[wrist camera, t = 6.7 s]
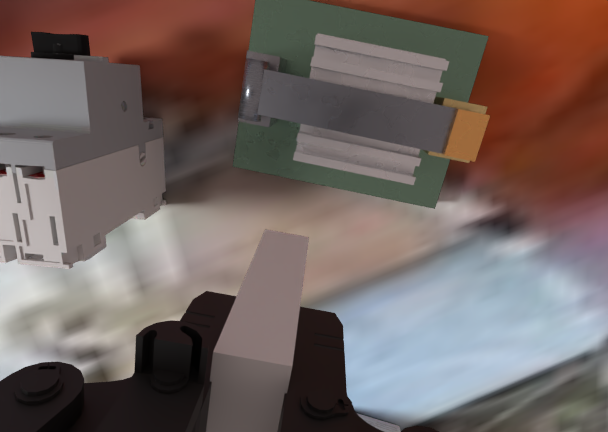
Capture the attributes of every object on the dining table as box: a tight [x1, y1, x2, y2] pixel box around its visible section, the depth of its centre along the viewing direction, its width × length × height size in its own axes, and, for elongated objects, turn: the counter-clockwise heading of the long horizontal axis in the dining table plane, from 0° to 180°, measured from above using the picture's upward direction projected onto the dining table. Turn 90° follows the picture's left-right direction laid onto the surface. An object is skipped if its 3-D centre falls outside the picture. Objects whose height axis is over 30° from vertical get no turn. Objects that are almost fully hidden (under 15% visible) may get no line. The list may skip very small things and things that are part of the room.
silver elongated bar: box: [238, 58, 490, 162], centre depth 28 cm, size 16×4×2 cm, turn 79°
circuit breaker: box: [0, 32, 167, 269], centre depth 31 cm, size 8×14×15 cm, turn 177°
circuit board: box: [233, 0, 489, 209], centre depth 32 cm, size 18×14×7 cm
